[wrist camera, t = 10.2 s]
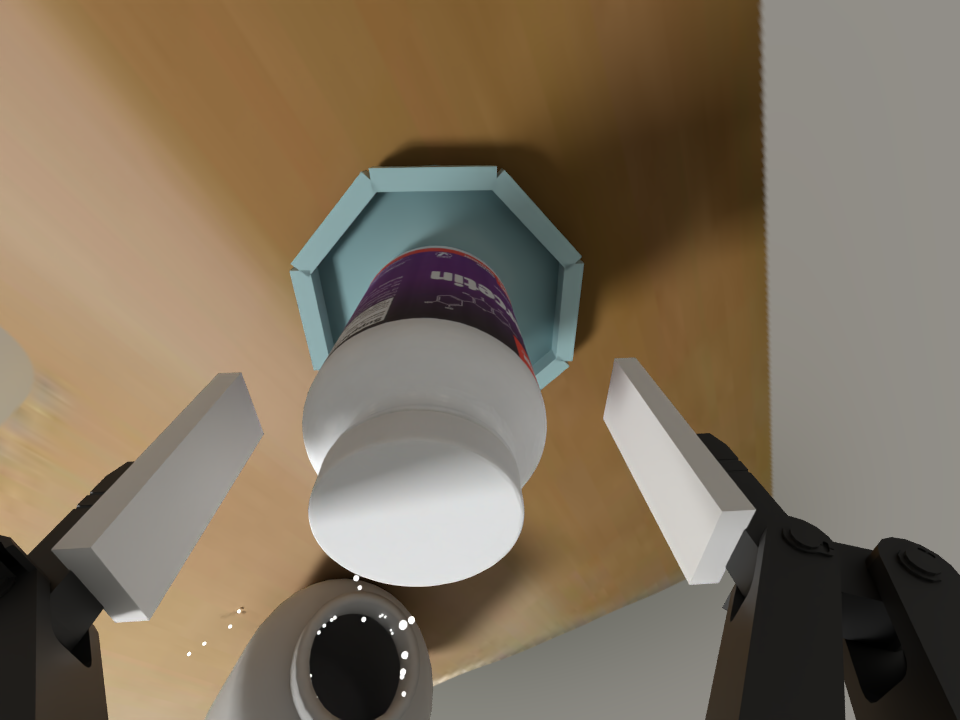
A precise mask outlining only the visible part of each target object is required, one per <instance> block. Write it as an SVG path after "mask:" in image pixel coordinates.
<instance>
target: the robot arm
mask: <svg viewBox="0 0 960 720" xmlns="http://www.w3.org/2000/svg"><path fill="white" fill-rule="evenodd" d="M603 419H604V421H605V423H606V425H607V427H608V429H609V431H610V433H611V435H612V437H613V438H614V440H615V442H616V444H617V446H618V448H619V450H620V452H621V454H622V456H623V458H624V460H625V462H626V464H627V465H628V467H629V469H630V471H631V473H632V475H633V477H634V479H635V481H636V483H637V485H638V487H639V489H640V491H641V493H642V494H643V496H644V498H645V500H646V502H647V504H648V506H649V508H650V510H651V512H652V514H653V516H654V518H655V520H656V521H657V523H658V525H659V527H660V529H661V531H662V533H663V535H664V537H665V539H666V541H667V543H668V545H669V547H670V549H671V550H672V552H673V554H674V556H675V558H676V560H677V562H678V564H679V566H680V568H681V570H682V572H683V574H684V576H685V577H686V579H687V581H688V583H689V585H694V584H709V583H719V581H720V579H721V577H722V575H723V574H724V572H725V570H726V569H727V570H728V572H729V573H730V575H731V577H732V578H733V580H734V582H735V585H734V587H733V589H732V591H731V593H730V595H729V596H728V598H727V600H726V602H725V603H724V605H723V607H722V608H723V609H725V610H727V615H726V620H725V625H724V631H723V635H722V640H721V645H720V650H719V655H718V660H717V665H716V669H715V674H714V679H713V684H712V689H711V695H710V699H709V704H708V710H707V714H706V719H705V720H845V696H844V681H845V684H846V688H847V690H848V694H849V697H850V701H851V704H852V707H853V711H854V714H855V717H856V720H960V575H959V574H958V573H957V571H956V570H955V569H954V568H953V567H952V566H951V565H950V564H949V563H947V562H946V561H945V560H944V559H942V558H941V557H940V556H939V555H937V554H936V553H934V552H932V551H930V550H929V549H927V548H925V547H923V546H921V545H919V544H916V543H914V542H911V541H908V540H906V539H900V538H893V537H890V538H885V539H882V540H881V541H880V542H879V544H878V545H877V546H876V547H875V548H874V550H869V549H864V548H860V547H855V546H850V545H846V544H841V543H836V542H833V541H832V540H831V539H830V538H829V537H828V536H827V535H826V534H825V533H823V532H822V531H821V530H820V529H818V528H817V527H815V526H813V525H811V524H810V523H808V522H806V521H804V520H801V519H797V518H794V517H790V516H788V515H787V514H786V513H785V512H784V511H783V510H782V509H781V507H780V506H779V505H778V504H777V503H776V502H775V500H774V499H773V498H772V497H771V496H770V495H769V493H768V492H767V491H766V490H765V489H764V488H763V486H762V485H761V484H760V483H759V482H758V481H757V479H756V478H755V477H754V476H753V475H752V474H751V473H749V472H748V469H747V468H746V467H745V466H744V464H743V463H742V462H741V461H738V457H737V456H736V455H735V454H734V453H733V452H732V451H731V449H730V448H729V447H728V446H727V445H726V444H725V443H723V442H722V441H720V440H719V439H717V438H716V437H714V436H713V435H711V434H710V433H705V434H696V433H695V432H694V431H693V430H692V428H691V427H690V426H689V425H688V423H687V422H686V421H685V419H684V418H683V417H682V416H681V414H680V413H679V412H678V411H677V409H676V408H675V407H674V406H673V404H672V403H671V402H670V401H669V399H668V398H667V397H666V396H665V394H664V393H663V392H662V391H661V389H660V388H659V387H658V385H657V384H656V383H655V382H654V380H653V379H652V378H651V377H650V375H649V374H648V373H647V372H646V370H645V369H644V368H643V367H642V365H641V364H640V363H639V362H638V360H637V359H636V358H615V359H614V365H613V370H612V375H611V381H610V386H609V391H608V396H607V402H606V407H605V412H604V418H603ZM263 434H264V433H263V430H262V428H261V425H260V422H259V419H258V417H257V414H256V411H255V408H254V406H253V403H252V400H251V398H250V395H249V392H248V389H247V387H246V384H245V381H244V379H243V376H242V373H241V372H240V373H218V374H217V375H216V376H215V377H214V379H213V380H212V381H211V382H210V383H209V384H208V385H207V386H206V387H205V388H204V389H203V390H202V391H201V392H200V393H199V394H198V395H197V396H196V397H195V399H194V400H193V401H192V402H191V403H190V404H189V405H188V406H187V407H186V408H185V409H184V410H183V411H182V412H181V413H180V414H179V415H178V416H177V417H176V419H175V420H174V421H173V422H172V423H171V424H170V425H169V426H168V427H167V428H166V429H165V430H164V431H163V432H162V433H161V434H160V435H159V436H158V437H157V439H156V440H155V441H154V442H153V443H152V444H151V445H150V446H149V447H148V448H147V449H146V450H145V451H144V452H143V453H142V454H141V455H140V456H139V457H138V459H137V460H136V461H135V462H127V463H125V464H124V465H122V466H121V467H119V468H118V469H116V470H115V471H113V472H112V473H110V474H109V475H107V476H106V477H105V478H104V479H103V480H102V481H101V482H100V483H99V484H98V485H97V486H96V487H95V488H94V489H93V490H92V491H91V492H90V495H87V496H86V497H85V498H84V499H83V500H82V501H81V502H80V503H79V504H78V505H77V508H76V509H73V510H72V511H71V512H70V513H69V514H68V515H67V516H66V517H65V518H64V519H63V520H62V521H61V522H60V523H59V524H58V525H57V526H56V527H55V528H54V529H53V530H52V531H51V532H50V533H49V534H48V535H47V536H46V537H45V538H44V539H43V540H42V541H41V542H40V543H39V544H38V545H37V546H36V547H35V548H34V549H33V550H32V551H31V552H30V553H29V554H28V555H26V554H25V552H24V551H23V550H22V549H21V548H20V547H19V546H18V545H17V544H16V543H15V542H14V541H13V540H12V539H11V538H10V537H6V536H2V535H0V720H108V713H107V704H106V695H105V686H104V678H103V669H102V660H101V651H100V643H99V634H98V631H97V630H96V628H95V626H94V625H93V622H94V621H95V619H96V618H97V617H98V615H99V614H100V613H101V611H102V610H103V609H104V610H105V611H106V612H107V614H108V615H109V616H110V617H111V618H112V619H113V620H114V621H115V623H116V622H131V621H147V620H150V618H151V617H152V615H153V613H154V612H155V610H156V609H157V607H158V605H159V604H160V602H161V600H162V599H163V597H164V596H165V594H166V592H167V591H168V589H169V587H170V586H171V584H172V583H173V581H174V579H175V578H176V576H177V574H178V573H179V571H180V570H181V568H182V566H183V565H184V563H185V561H186V560H187V558H188V556H189V555H190V553H191V552H192V550H193V548H194V547H195V545H196V543H197V542H198V540H199V539H200V537H201V535H202V534H203V532H204V530H205V529H206V527H207V526H208V524H209V522H210V521H211V519H212V517H213V516H214V514H215V513H216V511H217V509H218V508H219V506H220V504H221V503H222V501H223V500H224V498H225V496H226V495H227V493H228V491H229V490H230V488H231V487H232V485H233V483H234V482H235V480H236V478H237V477H238V475H239V473H240V472H241V470H242V469H243V467H244V465H245V464H246V462H247V460H248V459H249V457H250V456H251V454H252V452H253V451H254V449H255V447H256V446H257V444H258V443H259V441H260V439H261V438H262V436H263Z"/></svg>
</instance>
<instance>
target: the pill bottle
mask: <svg viewBox="0 0 960 720" xmlns="http://www.w3.org/2000/svg"><path fill="white" fill-rule="evenodd" d="M302 428H303V437H304V443H305V447H306V451H307V454H308V457H309V459H310V461H311V464H312V466H313V468H314V469H315V471H316V473H317V474H318V477H317V479H316V482H315V485H314V487H313V490H312V493H311V497H310V500H309V507H308V514H309V522H310V527H311V530H312V533H313V535H314V537H315V539H316V541H317V542H318V544H319V545H320V546H321V548H322V549H323V550H324V551H325V552H326V553H327V554H328V555H329V557H330V558H331V559H333V560H334V561H336V562H337V563H338V564H340V565H341V566H343V567H344V568H346V569H347V570H349V571H351V572H353V573H355V574H357V575H359V576H362V577H365V578H367V579H370V580H374V581H377V582H381V583H386V584H391V585H398V586H408V587H423V586H435V585H442V584H447V583H452V582H457V581H460V580H463V579H467V578H469V577H472V576H474V575H476V574H479V573H481V572H482V571H484V570H486V569H488V568H490V567H491V566H493V565H494V564H496V563H497V562H498V561H499V560H501V559H502V558H503V557H504V556H505V555H506V554H507V553H508V552H509V551H510V550H511V548H512V547H513V546H514V544H515V542H516V541H517V539H518V537H519V535H520V532H521V529H522V526H523V522H524V502H523V496H522V491H521V488H522V487H523V486H524V485H525V484H526V482H527V481H528V480H529V479H530V477H531V476H532V474H533V473H534V471H535V469H536V467H537V465H538V463H539V461H540V458H541V456H542V453H543V449H544V445H545V439H546V431H547V421H546V411H545V406H544V401H543V398H542V394H541V391H540V388H539V385H538V383H537V379H536V376H535V374H534V371H533V368H532V365H531V362H530V359H529V357H528V354H527V351H526V348H525V345H524V341H523V338H522V335H521V333H520V330H519V327H518V324H517V320H516V317H515V314H514V311H513V308H512V305H511V302H510V299H509V296H508V294H507V291H506V289H505V287H504V285H503V283H502V282H501V280H500V279H499V277H498V276H497V274H496V273H495V272H494V271H493V270H492V269H491V268H490V267H489V266H488V265H487V264H486V263H485V262H483V261H482V260H480V259H479V258H477V257H476V256H474V255H472V254H470V253H468V252H465V251H463V250H460V249H457V248H453V247H447V246H425V247H420V248H415V249H412V250H409V251H407V252H404V253H402V254H401V255H399V256H397V257H395V258H394V259H392V260H391V261H390V262H389V263H387V264H386V265H385V266H384V267H383V268H382V269H381V270H380V271H379V273H378V274H377V275H376V277H375V278H374V279H373V281H372V282H371V284H370V286H369V288H368V289H367V291H366V293H365V295H364V296H363V298H362V300H361V301H360V303H359V305H358V306H357V308H356V310H355V311H354V313H353V315H352V316H351V318H350V320H349V322H348V323H347V325H346V327H345V328H344V330H343V332H342V333H341V335H340V337H339V339H338V340H337V342H336V344H335V345H334V347H333V349H332V350H331V352H330V354H329V355H328V357H327V358H326V360H325V362H324V363H323V365H322V367H321V368H320V370H319V372H318V374H317V375H316V377H315V379H314V381H313V383H312V385H311V387H310V389H309V392H308V394H307V398H306V402H305V405H304V411H303V420H302Z"/></svg>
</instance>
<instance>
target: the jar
mask: <svg viewBox="0 0 960 720" xmlns="http://www.w3.org/2000/svg"><path fill="white" fill-rule="evenodd" d="M240 612H241V610H240V609H239V610H238V611H237V613H240ZM231 627H232V625H229V626H228V628H231ZM202 645H206V642H203V644H202ZM190 655H191V652H188V653H187V656H190ZM432 696H433V681H432V668H431V663H430V659H429V654H428V650H427V646H426V644H425V641H424V638H423V636H422V633H421V631H420V629H419V627H418V625H417V623H416V622H415V618H414V617H413V616H412V615H411V614H410V613H409V611H408V610H407V609H406V608H405V607H404V605H403V604H402V603H401V602H400V601H399V600H397V599H396V598H395V597H394V596H393V595H391V594H390V593H389V592H387V591H385V590H383V589H382V588H380V587H378V586H376V585H373V584H370V583H367V582H364V581H361V580H359V576H358V575H355V576H354V580H353V579H345V578H344V579H333V580H326V581H323V582H319V583H316V584H312V585H310V586H308V587H306V588H304V589H302V590H300V591H298V592H296V593H295V594H293V595H292V596H291V597H289V598H288V599H287V600H285V601H284V602H283V603H281V604H280V605H279V606H278V607H277V608H276V609H275V610H274V611H273V612H272V613H271V614H270V615H269V617H268V618H267V619H266V620H265V621H264V622H263V623H262V624H261V625H260V626H259V628H258V629H257V631H256V632H255V634H254V635H253V637H252V638H251V640H250V641H249V643H248V644H247V646H246V648H245V649H244V651H243V653H242V654H241V656H240V658H239V659H238V661H237V663H236V665H235V666H234V668H233V670H232V671H231V673H230V675H229V677H228V678H227V680H226V682H225V683H224V685H223V687H222V688H221V690H220V692H219V694H218V695H217V697H216V699H215V700H214V702H213V704H212V705H211V707H210V709H209V711H208V713H207V715H206V717H205V720H430V715H431V709H432Z"/></svg>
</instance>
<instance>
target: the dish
mask: <svg viewBox="0 0 960 720" xmlns="http://www.w3.org/2000/svg"><path fill="white" fill-rule="evenodd" d="M425 246H447V247H453V248H457V249H460V250H463V251H465V252H468V253H470V254H472V255H474V256H476V257H477V258H479V259H480V260H482V261H483V262H485V263H486V264H487V265H488V266H489V267H490V268H491V269H492V270H493V271H494V272H495V273H496V274H497V276H498V277H499V279H500V280H501V282H502V283H503V285H504V287H505V289H506V291H507V294H508V296H509V299H510V302H511V305H512V308H513V311H514V314H515V317H516V320H517V324H518V327H519V330H520V333H521V335H522V338H523V341H524V345H525V348H526V351H527V354H528V357H529V359H530V362H531V365H532V368H533V371H534V374H535V376H536V379H537V383H538V385H539V388H540V390H541V389H542V388H544V387H545V386H546V385H547V384H548V383H550V382H551V381H552V380H553V379H555V378H556V377H557V376H558V375H559V374H561V373H562V372H563V371H564V370H565V369H567V368H568V367H569V364H568V362H567V361H572V360H573V352H574V344H575V335H576V327H577V318H578V310H579V302H580V293H581V285H582V277H583V268H584V263H583V262H582V261H581V260H580V258H581V257H582V256H581V255H580V254H579V253H578V252H577V251H576V249H575V248H574V247H573V246H572V245H571V244H570V243H569V242H568V240H567V239H566V238H565V237H564V236H563V235H562V234H561V233H560V232H559V230H558V229H557V228H556V227H555V226H554V225H553V224H552V223H551V221H550V220H549V219H548V218H547V217H546V216H545V215H544V214H543V212H542V211H541V210H540V209H539V208H538V207H537V206H536V205H535V203H534V202H533V201H532V200H531V199H530V198H529V197H528V196H527V195H526V193H525V192H524V191H523V190H522V189H521V188H520V187H519V186H518V184H517V183H516V182H515V181H514V180H513V179H512V178H511V177H510V175H509V174H508V173H507V172H506V171H505V170H504V169H502V168H501V170H500V171H499V172H498V173H497V166H495V165H450V166H448V165H426V166H375V167H371V168H369V172H368V171H367V170H365V171H362V172H361V173H360V174H359V176H358V177H357V178H356V180H355V181H354V182H353V183H352V185H351V186H350V187H349V189H348V190H347V191H346V193H345V194H344V195H343V196H342V198H341V199H340V200H339V202H338V203H337V204H336V206H335V207H334V208H333V209H332V211H331V212H330V213H329V215H328V216H327V217H326V219H325V220H324V221H323V223H322V224H321V225H320V226H319V228H318V229H317V230H316V232H315V233H314V234H313V236H312V237H311V238H310V239H309V241H308V242H307V243H306V245H305V246H304V247H303V249H302V250H301V251H300V252H299V254H298V255H297V256H296V258H295V259H294V260H293V262H292V263H291V264H292V265H293V266H294V268H292V269H291V270H290V275H291V279H292V283H293V287H294V291H295V295H296V299H297V303H298V307H299V311H300V316H301V320H302V324H303V328H304V332H305V336H306V340H307V344H308V348H309V352H310V356H311V360H312V364H313V368H314V370H320V368H321V367H322V365H323V363H324V362H325V360H326V358H327V357H328V355H329V354H330V352H331V350H332V349H333V347H334V345H335V344H336V342H337V340H338V339H339V337H340V335H341V333H342V332H343V330H344V328H345V327H346V325H347V323H348V322H349V320H350V318H351V316H352V315H353V313H354V311H355V310H356V308H357V306H358V305H359V303H360V301H361V300H362V298H363V296H364V295H365V293H366V291H367V289H368V288H369V286H370V284H371V282H372V281H373V279H374V278H375V277H376V275H377V274H378V273H379V271H380V270H381V269H382V268H383V267H384V266H385V265H386V264H387V263H389V262H390V261H391V260H392V259H394V258H395V257H397V256H399V255H401V254H402V253H404V252H407V251H409V250H412V249H415V248H420V247H425Z"/></svg>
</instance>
